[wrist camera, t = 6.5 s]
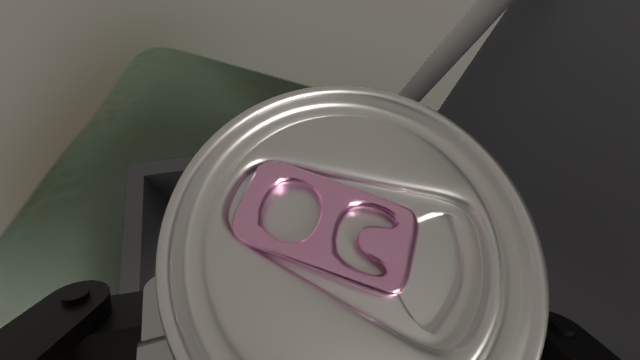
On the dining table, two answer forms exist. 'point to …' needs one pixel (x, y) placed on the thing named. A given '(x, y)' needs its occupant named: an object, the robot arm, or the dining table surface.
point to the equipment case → (519, 149)
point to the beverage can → (349, 239)
